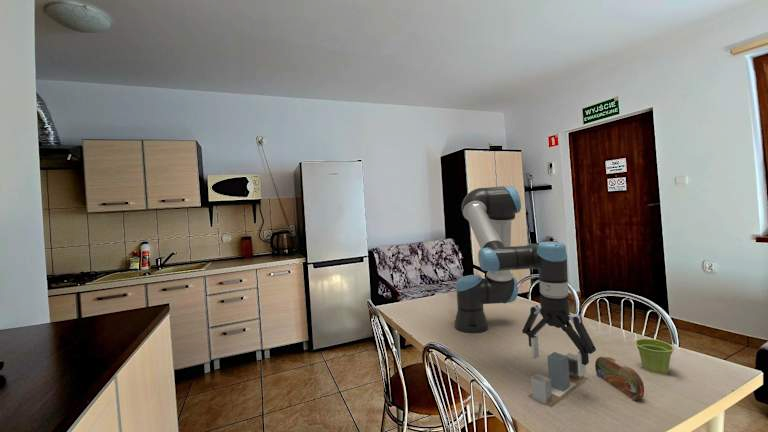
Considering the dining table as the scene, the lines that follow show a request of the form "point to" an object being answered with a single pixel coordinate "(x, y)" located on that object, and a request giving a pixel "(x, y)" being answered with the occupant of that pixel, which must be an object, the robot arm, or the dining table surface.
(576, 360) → the far end finger
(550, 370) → the block
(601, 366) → the tin
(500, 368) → the dining table surface
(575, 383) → the brown flat board
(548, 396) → the near end finger
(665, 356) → the plant pot
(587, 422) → the dining table surface
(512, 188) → the robot arm
